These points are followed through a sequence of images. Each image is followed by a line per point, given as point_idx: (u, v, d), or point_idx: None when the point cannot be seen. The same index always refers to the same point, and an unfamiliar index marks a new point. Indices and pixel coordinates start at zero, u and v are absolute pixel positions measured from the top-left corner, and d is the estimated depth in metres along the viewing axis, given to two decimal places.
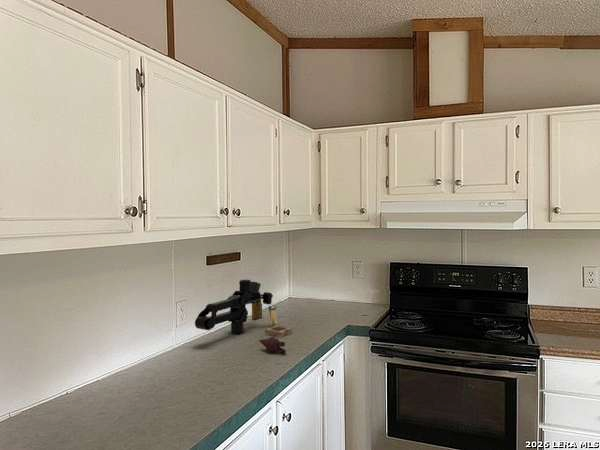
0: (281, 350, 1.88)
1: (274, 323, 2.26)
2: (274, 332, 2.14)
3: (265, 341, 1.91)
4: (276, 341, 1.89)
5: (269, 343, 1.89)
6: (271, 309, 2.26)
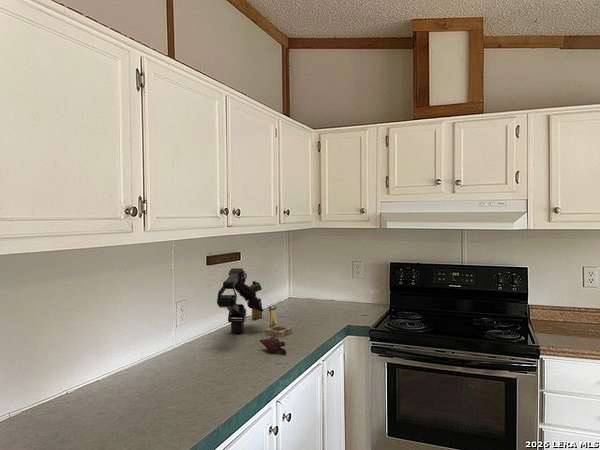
0: (281, 350, 1.88)
1: (274, 323, 2.26)
2: (274, 332, 2.14)
3: (265, 341, 1.91)
4: (276, 341, 1.89)
5: (269, 343, 1.89)
6: (271, 309, 2.26)
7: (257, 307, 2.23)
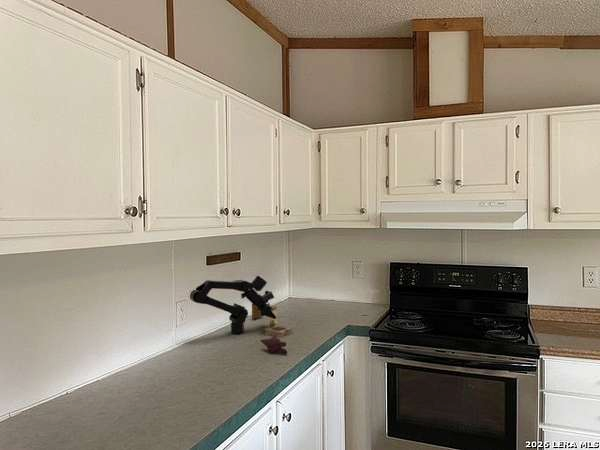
0: (282, 350, 1.88)
1: (274, 323, 2.26)
2: (274, 332, 2.14)
3: (266, 341, 1.91)
4: (277, 341, 1.89)
5: (270, 343, 1.89)
6: (271, 309, 2.26)
7: (270, 314, 2.24)
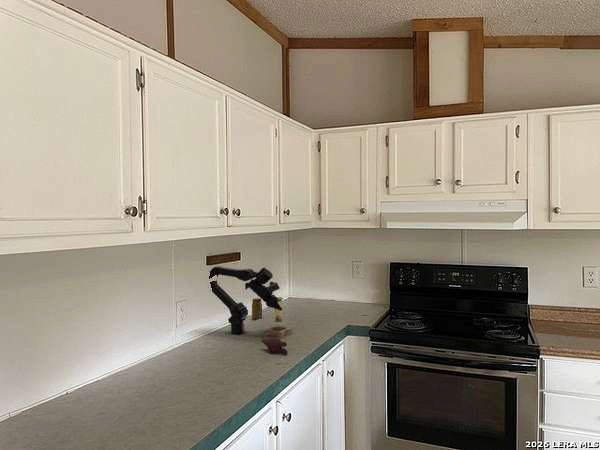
0: (283, 350, 1.88)
1: (280, 315, 2.18)
2: (274, 332, 2.14)
3: (267, 341, 1.91)
4: (278, 341, 1.89)
5: (271, 343, 1.89)
6: (277, 300, 2.18)
7: (275, 306, 2.16)
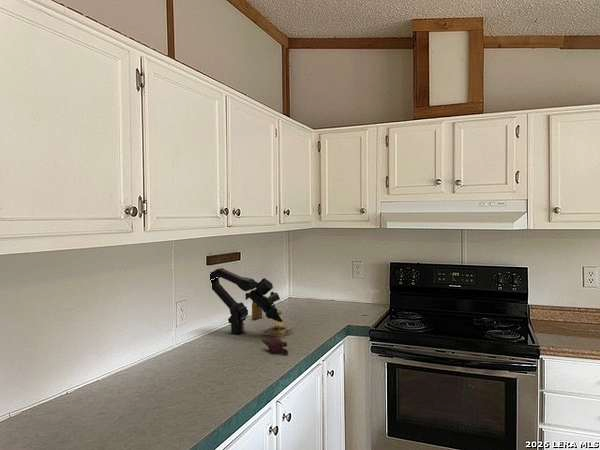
0: (283, 350, 1.88)
1: (280, 328, 2.17)
2: (274, 332, 2.14)
3: (268, 341, 1.91)
4: (278, 341, 1.89)
5: (271, 343, 1.88)
6: None
7: (276, 317, 2.13)
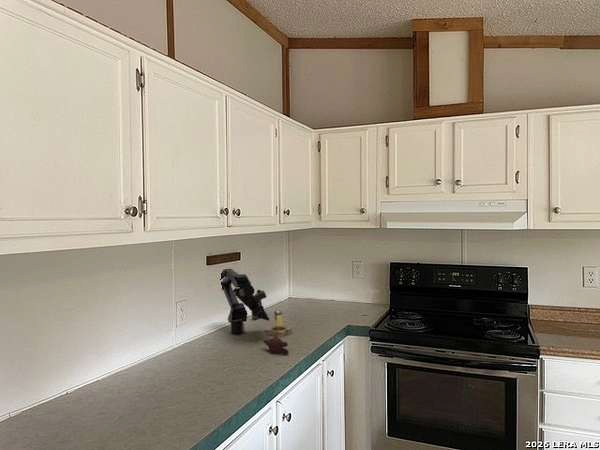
0: (284, 350, 1.88)
1: (280, 329, 2.17)
2: (274, 332, 2.14)
3: (268, 341, 1.91)
4: (279, 341, 1.89)
5: (272, 343, 1.88)
6: (277, 314, 2.16)
7: (262, 316, 2.11)
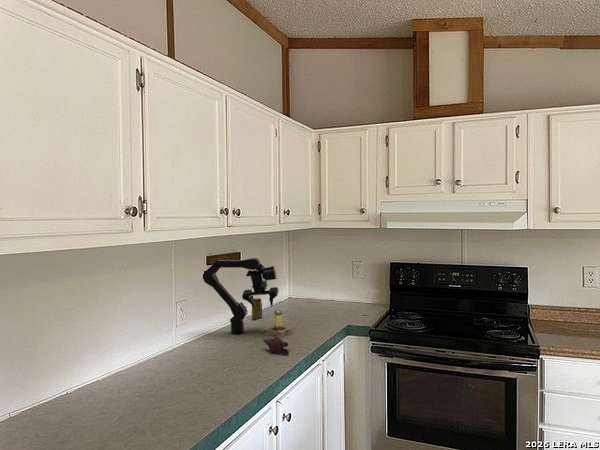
0: (284, 350, 1.88)
1: (280, 329, 2.17)
2: (274, 332, 2.14)
3: (269, 341, 1.91)
4: (279, 341, 1.89)
5: (272, 343, 1.88)
6: (277, 314, 2.16)
7: None
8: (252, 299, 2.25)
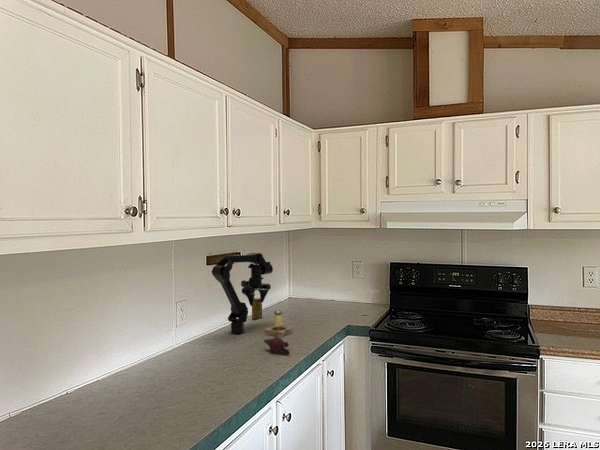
0: (285, 350, 1.88)
1: (280, 329, 2.17)
2: (274, 332, 2.14)
3: (269, 341, 1.91)
4: (280, 341, 1.89)
5: (273, 343, 1.88)
6: (277, 314, 2.16)
7: None
8: None
